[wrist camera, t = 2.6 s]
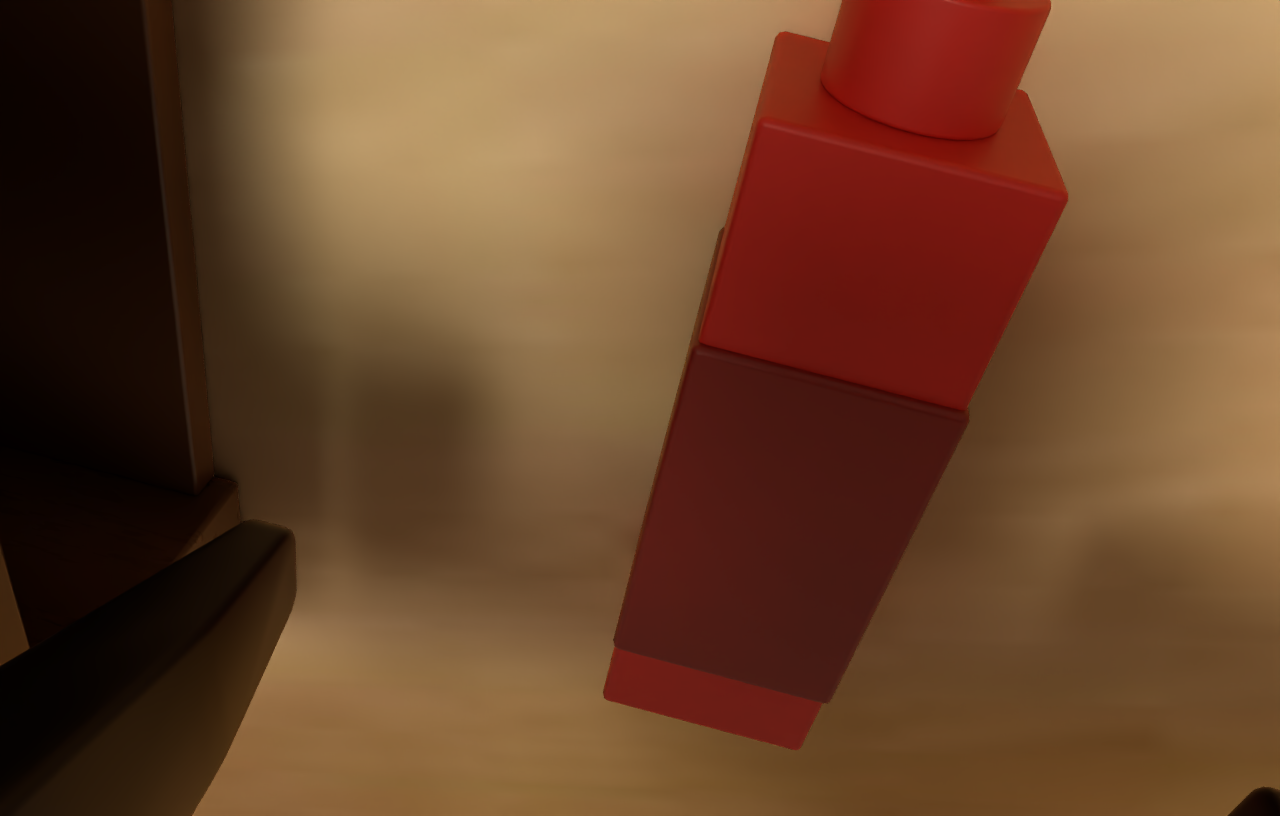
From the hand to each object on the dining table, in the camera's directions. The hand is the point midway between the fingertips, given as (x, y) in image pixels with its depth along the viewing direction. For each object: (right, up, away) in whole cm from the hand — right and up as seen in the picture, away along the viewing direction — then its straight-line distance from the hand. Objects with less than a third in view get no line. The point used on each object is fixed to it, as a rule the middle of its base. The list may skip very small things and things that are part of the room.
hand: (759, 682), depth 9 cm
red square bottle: (+1, +3, +4) cm, 5 cm away
